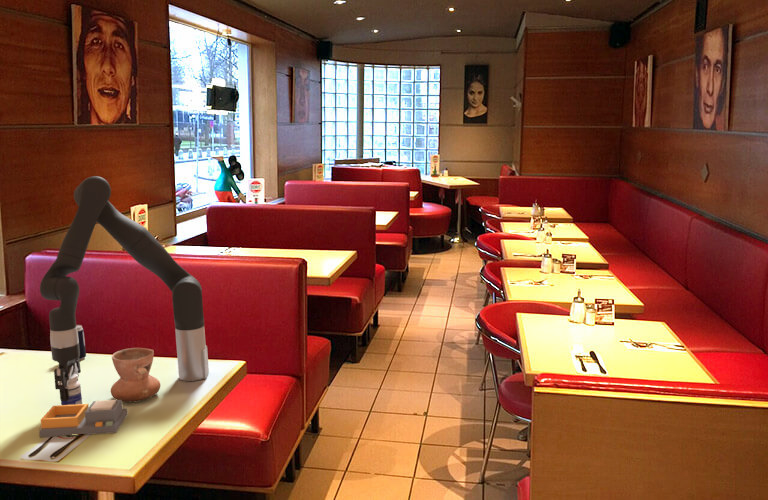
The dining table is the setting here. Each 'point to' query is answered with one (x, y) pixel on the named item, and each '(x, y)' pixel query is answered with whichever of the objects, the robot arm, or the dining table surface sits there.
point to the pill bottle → (73, 391)
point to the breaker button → (103, 405)
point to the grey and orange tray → (81, 420)
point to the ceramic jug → (134, 375)
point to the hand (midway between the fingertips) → (69, 395)
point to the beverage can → (81, 342)
